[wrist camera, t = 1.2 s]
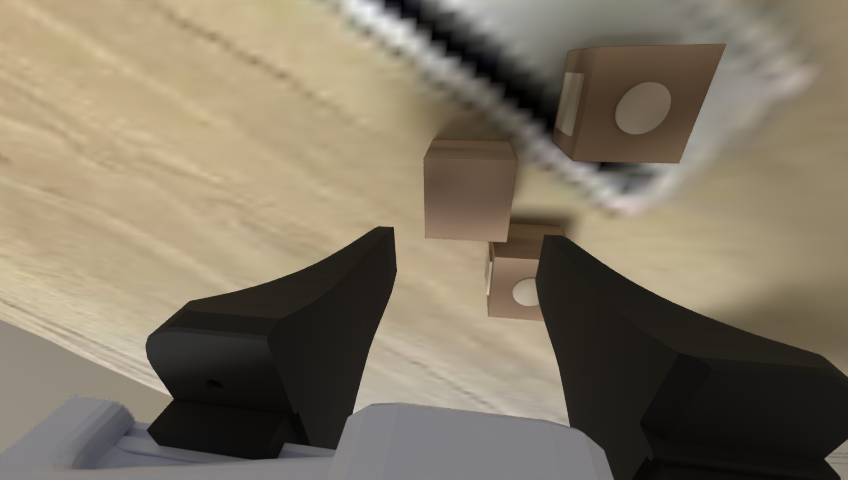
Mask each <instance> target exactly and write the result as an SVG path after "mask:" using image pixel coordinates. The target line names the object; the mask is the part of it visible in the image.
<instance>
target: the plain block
mask: <svg viewBox="0 0 848 480" xmlns="http://www.w3.org/2000/svg"><path fill="white" fill-rule="evenodd" d="M517 161H518V160H517V158H516V156H515V154H514V152H513V150H512V148H511V146H510V143H509V141H508V140H433V141H432V143H431V145H430V147H429V149H428V151H427V153H426V155H425V157H424V209H425V238H432V239H452V240H472V241H492V242H507V235H508V228H509V220H510V213H511V206H512V198H513V191H514V183H515V176H516V168H517Z"/></svg>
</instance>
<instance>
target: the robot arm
mask: <svg viewBox="0 0 848 480" xmlns="http://www.w3.org/2000/svg"><path fill="white" fill-rule="evenodd" d="M396 273H397V266H396V252H395V238H394V227H380V226H378V227H376V228H374V229H373V230H371V231H369V232H368V233H366V234H365V235H363V236H362V237H360V238H359V239H357V240H356V241H354V242H352V243H351V244H349V245H348V246H346V247H345V248H343V249H341V250H339V251H338V252H336V253H334V254H332V255H331V256H329V257H327V258H325V259H324V260H322V261H320V262H318V263H316V264H313V265H311V266H309V267H307V268H305V269H302V270H300V271H298V272H295V273H292V274H290V275H287V276H284V277H282V278H279V279H276V280H273V281H271V282H267V283H264V284H261V285H258V286H254V287H250V288H247V289H243V290H239V291H235V292H231V293H227V294H222V295H217V296H213V297H208V298H203V299H198V300H192V301H189V302H188V303H187V304H186V305H184V306H183V307H182V308H181V309H180V310H179V311H177V312H176V313H175V314H174V315H173V316H172V317H170V318H169V319H168V320H167V321H166V322H165V323H164V324H162V325H161V326H160V327H159V328H158V329H157V330H155V331H154V332H153V333H152V334H151V335H150V336H148V339H147V342H146V353H147V358H148V360H149V362H150V364H151V366H152V367H153V369H154V370H155V372H156V373H157V375H158V376H159V378H160V379H161V381H162V382H163V384H164V385H165V387H166V388H167V389H168V391H169V392H170V394H171V395H172V397H173V398H174V399H173V401H172V402H171V403H170V404H169V405H168V406H167V408H165V410H164V411H163V412H162V413H161V414H160V415H159V416H158V418H157V419H156V420H155V421H154V422H153V423H152V424H151V423H144V422H138V421H135V418H134V416H133V415H132V413H131V412H130V411H129V409H128V408H126V407H125V406H124V405H123V404H121V403H119V402H117V401H114V400H110V399H105V398H97V397H90V396H82V395H73V396H70V397H69V398H68V399H67V400H66V401H64V402H63V403H62V404H61V405H59V406H58V407H57V408H56V409H55V410H53V411H52V412H51V413H50V414H49V415H47V416H46V417H45V418H44V419H43V420H41V421H40V422H39V423H38V424H37V425H35V426H34V427H33V428H32V429H30V431H28V432H27V433H26V434H24V435H23V436H22V437H21V438H20V439H18V440H17V441H16V442H15V443H14V444H12V445H11V446H10V447H9V448H7V449H6V450H5V451H4V452H3V453H1V454H0V480H844V478H842V477H841V476H840V475H838V473H837V472H836V471H835V470H834V469H833V468H832V467H831V466H830V464H829V463H828V462H827V461H826V460H825V458H826V457H827V456H828V455H829V454H831V453H832V452H833V451H834V450H836V449H837V448H838V447H839V446H840V445H842V444H843V443H844V442H845V441H846V440H848V377H847V376H846V375H845V374H843V373H842V372H841V371H840V370H839V369H837V368H836V367H835V366H834V365H833V364H832V363H830V362H829V361H828V360H827V359H826V358H824V357H823V356H821V355H819V354H816V353H812V352H809V351H806V350H803V349H799V348H796V347H793V346H790V345H786V344H783V343H780V342H777V341H773V340H770V339H767V338H764V337H761V336H757V335H754V334H752V333H749V332H746V331H743V330H740V329H738V328H735V327H732V326H729V325H727V324H724V323H721V322H718V321H716V320H713V319H711V318H708V317H706V316H703V315H701V314H698V313H696V312H694V311H691V310H689V309H687V308H684V307H682V306H680V305H678V304H675V303H673V302H671V301H669V300H667V299H665V298H662V297H660V296H658V295H656V294H655V293H653V292H651V291H649V290H647V289H645V288H643V287H641V286H639V285H637V284H636V283H634V282H632V281H630V280H629V279H627V278H625V277H624V276H622V275H621V274H619V273H617V272H616V271H614V270H612V269H611V268H609V267H608V266H606V265H605V264H603V263H602V262H600V261H599V260H598V259H596V258H595V257H593V256H592V255H590V254H589V253H588V252H586V251H585V250H583V249H582V248H581V247H579V246H578V245H576V244H575V243H574V242H572V241H571V240H569V239H568V238H566V237H564V236H562V235H545V234H544V239H543V244H542V249H541V254H540V259H539V263H538V268H537V273H536V278H535V283H536V290H537V296H538V301H539V305H540V309H541V312H542V315H543V318H544V321H545V325H546V328H547V331H548V334H549V337H550V340H551V343H552V346H553V349H554V352H555V355H556V359H557V363H558V366H559V371H560V376H561V381H562V385H563V390H564V395H565V401H566V406H567V412H568V417H569V423H570V427H568V426H565V425H561V424H558V423H554V422H551V421H547V420H541V419H532V418H524V417H516V416H508V415H499V414H491V413H483V412H474V411H466V410H458V409H450V408H441V407H433V406H425V405H417V404H408V403H378V404H371V405H369V406H367V407H365V408H363V409H361V410H359V411H358V412H356V413H354V414H353V409H354V405H355V401H356V397H357V393H358V389H359V386H360V382H361V378H362V374H363V370H364V367H365V363H366V360H367V356H368V353H369V349H370V346H371V343H372V341H373V338H374V335H375V333H376V330H377V328H378V325H379V323H380V320H381V318H382V316H383V313H384V311H385V308H386V306H387V303H388V301H389V298H390V295H391V293H392V289H393V285H394V281H395V277H396Z"/></svg>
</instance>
